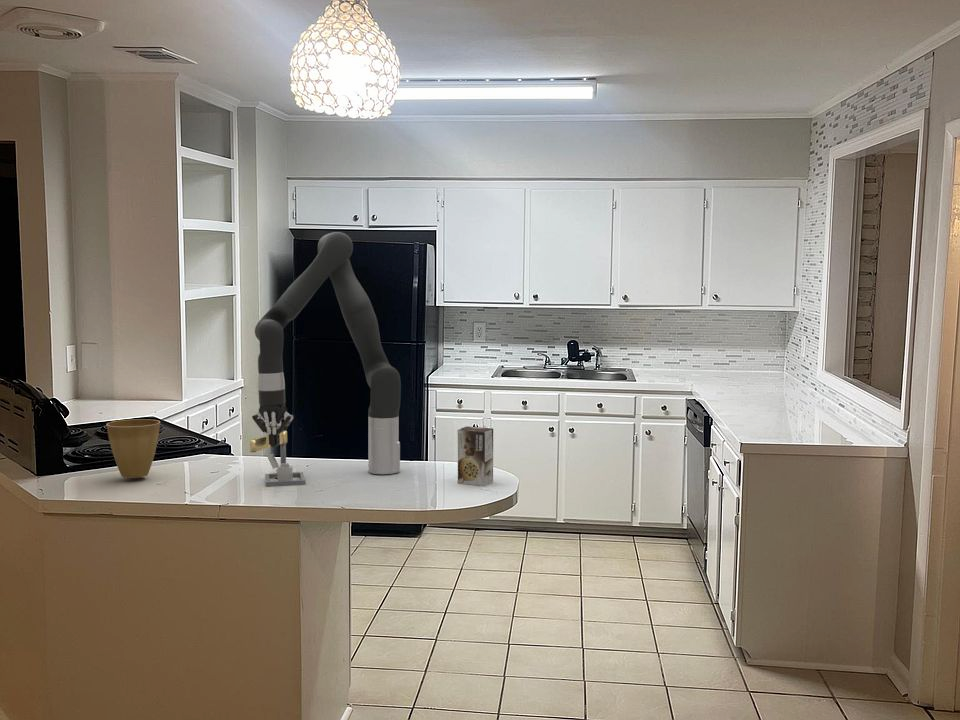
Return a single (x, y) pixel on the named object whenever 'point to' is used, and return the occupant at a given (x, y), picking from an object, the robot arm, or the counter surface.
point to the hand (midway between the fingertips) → (274, 446)
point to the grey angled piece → (281, 469)
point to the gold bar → (265, 442)
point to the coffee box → (475, 456)
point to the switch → (289, 482)
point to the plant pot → (133, 445)
